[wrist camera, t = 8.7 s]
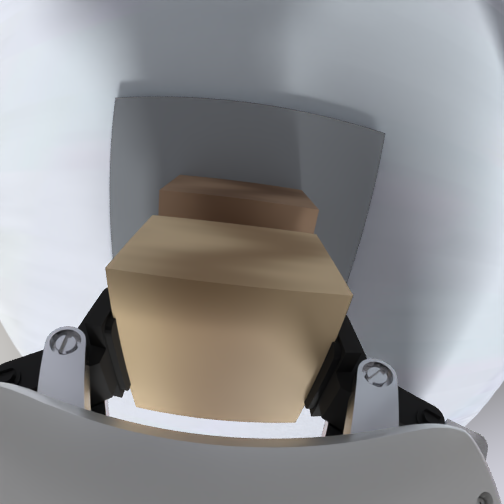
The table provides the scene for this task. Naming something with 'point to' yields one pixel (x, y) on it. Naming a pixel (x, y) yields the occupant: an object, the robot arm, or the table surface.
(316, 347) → the oak block
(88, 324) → the robot arm
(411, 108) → the table surface
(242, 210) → the walnut base block
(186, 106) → the slate board
